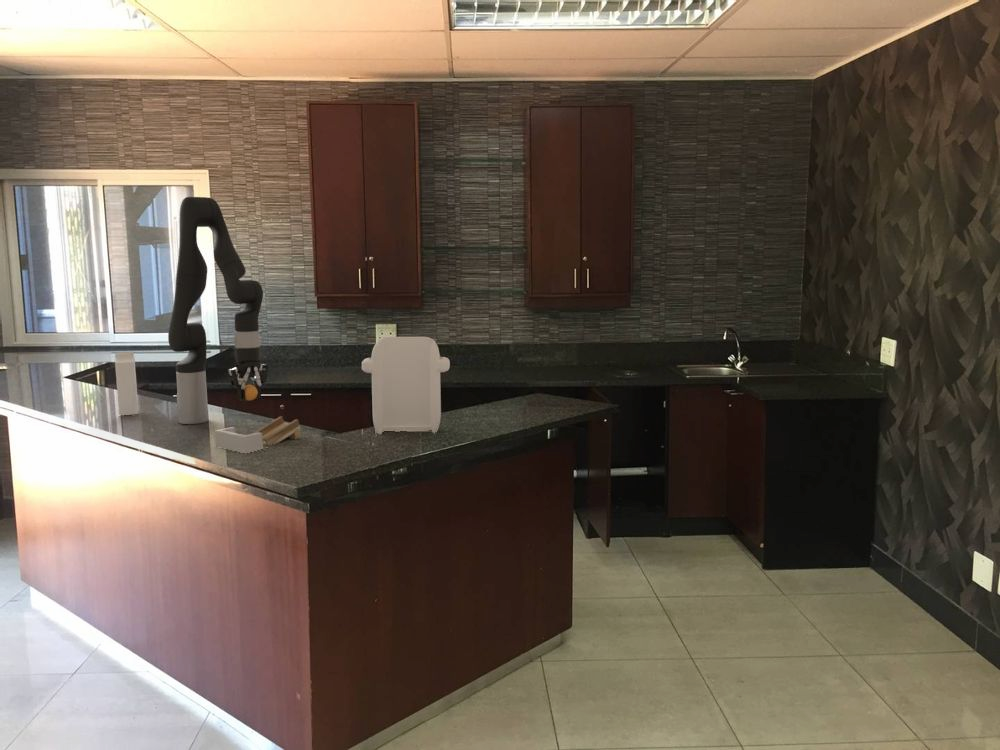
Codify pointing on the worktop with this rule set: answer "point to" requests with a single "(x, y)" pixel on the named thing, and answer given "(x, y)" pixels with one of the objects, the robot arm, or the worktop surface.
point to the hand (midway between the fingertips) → (249, 398)
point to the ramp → (279, 431)
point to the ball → (250, 392)
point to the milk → (126, 383)
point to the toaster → (406, 384)
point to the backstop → (238, 440)
